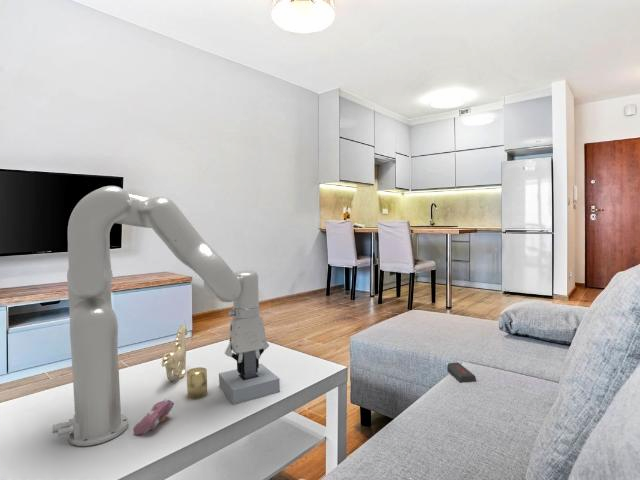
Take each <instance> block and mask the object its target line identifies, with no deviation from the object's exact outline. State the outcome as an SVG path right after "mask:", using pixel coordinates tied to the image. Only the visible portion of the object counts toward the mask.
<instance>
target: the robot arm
mask: <svg viewBox="0 0 640 480" xmlns="http://www.w3.org/2000/svg"><path fill="white" fill-rule="evenodd" d="M115 224H119V225H126V226H132V227H140V228H146V229H152V230H153V232H154V233H155V234H156V235H157V237H159V238H160V240H161V241H162V243H164V244H165V245H166V247H167V248H168V249H169V250H170V252H171V253H172V254H173V255H174V256H175V258H176V259H177V260H179V261H180V262H181V264H184V265H185V266H186V267H188V268H189V269H191V270H192V271H194V273H195V274H197V275H198V276H199V277H200V278H201V280H202V281H203V289H204V292H205V293H206V294H207V295H208V296H209V297H212V298H214V299H216V300H218V301H220V302H222V303H232V305H233V306H232V309H231V310H228V315H229V316H232V317H231V319H230V326H229V337H228V338H229V339H228V342H229V344H228V345H227V348H226V349H225V351H224V355H226V356H227V357H230V358H232V359H234V360H235V362H236V369H237V371H238V373H240V374H241V375H242V376H243V375H244V362H243V360H242V358H243V353H246V352H251V351H256V372H258V368H259V364H260V358H261V356H262V354H263V353H264V351H265V350H267V349H268V348H269V347H270V344H269V343H268V341H267V340H266V338H267V337H266V331H265V325H264V323H265V322H264V318H263V316H262V315H261V314H260V301H259V300H260V299H259V298H260V297H259V296H260V295H259V275H258V273H257V271H254V270H240V271H236V272H234V271H233V270H232V268H231V267H230V266H229V265H228V263H227V262H226V261H225V260H224V259H223V258H222V257H221V255H219V254H218V253H217V252H216V250H215V249H213V247H212V246H211V245H210V244H209V243H208V242H207V241H205V239H204V238H203V237H202V236H201V234H200V233H199V232H198V231H197V230H196V228H195V227H194V226H193V224H192V223H191V222H190V221H189V219H188V218H187V216H185V214H184V213H183V211H182V210H181V209H180V208H179V207H178V205H177V204H176V203H175V202H174V201H173V200H171V199H170V198H168V197H164V196H155V197H146V196H140V195H135V194H131V193H128V192H127V191H126V190H125V189H124V188H121V187H120V186H117V185H107V186H102V187H100V188H98V189H97V188H96V189H95V190H93V191H90V192H89V193H88V194H86V195H85V196H83V198H81V199H80V200H79V201H78V202H77V203H76V205H75V207H74V208H73V210H72V212H71V214H70V216H69V219H68V225H67V256H68V257H67V258H68V259H67V260H68V261H67V262H68V268H67V273H66V283H67V293H68V294H67V295H68V296H67V297H68V310H69V338H70V351H71V369H72V372H71V373H72V384H73V399H74V400H73V402H74V404H73V405H74V414H73V418H70V419H68V421H64V422H59V423H54V424H52V434H56V433H57V436H59V437H60V436H64V435H66V434H68V435H67V438H68V439H67V440H68V442H69V444H71V445H74V446H78V447H88V446H89V447H90V446H95V445H99V444H103V443H106V442H109V441H110V440H113V439H115V438H117V437H118V436H119V435H121V434H122V433H124V432H125V431H126V429H127V428H128V426H129V419H128V417H127V415H124V414H122V412H121V411H122V410H121V409H122V408H121V407H122V406H121V390H120V367H119V365H120V364H119V351H118V349H119V348H118V345H119V344H118V340H119V338H118V336H119V334H118V333H119V329H118V328H119V326H118V324H119V323H118V320H117V319H118V318H117V315H116V312H115V311H114V310H113V306H112V290H111V286H112V283H113V279H114V277H113V275H114V274H113V271H112V270H113V269H112V263H111V251H110V250H111V249H110V246H111V244H110V242H111V241H110V232H111V229H112V227H113V225H115ZM232 351H233V352H232Z"/></svg>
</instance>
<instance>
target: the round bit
mask: <svg viewBox="0 0 640 480" xmlns="http://www.w3.org/2000/svg"><path fill="white" fill-rule="evenodd" d="M207 370H208V369H207V368H206V367H201V366H200V367H194V368H190V369H188V370H187V371H186V389H187V390H186V392H187V393H186V395H187V398H188V399H191V400H198V399H202V398H205V397H206V396H207V395H208V394H209V393H208V375H207V374H208V372H207Z"/></svg>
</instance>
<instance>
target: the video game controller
mask: <svg viewBox="0 0 640 480" xmlns="http://www.w3.org/2000/svg"><path fill="white" fill-rule="evenodd" d="M174 405H175V402H174V401H172V400H169V399H167V398H165V399H164V400H163V401H161V400H160V401H159V402H157V403H155V404H154V405H153V407H152V408H151V409H150V410H149V411H148V412H147V413H146V415H145V416H144V417H143V419H141V421H139V422H138V423H136V424H135V426H134V427H133V433H134V434H135V435H138V436H139V435H142V434H145V433H146V432H147V431H149V430H151V431H154V430H155V429H156V428H157V426H158V424H162V423H163V422H164V421H165V420H166V418H167V416H168V414H169V413H170V412H171V411H172V409H173V407H174Z"/></svg>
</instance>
